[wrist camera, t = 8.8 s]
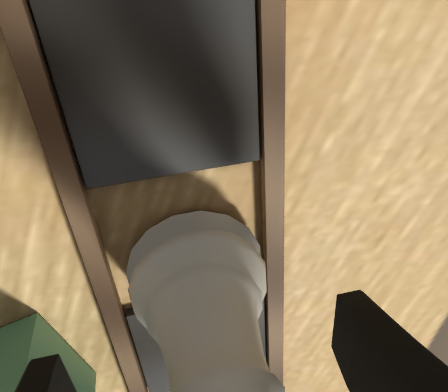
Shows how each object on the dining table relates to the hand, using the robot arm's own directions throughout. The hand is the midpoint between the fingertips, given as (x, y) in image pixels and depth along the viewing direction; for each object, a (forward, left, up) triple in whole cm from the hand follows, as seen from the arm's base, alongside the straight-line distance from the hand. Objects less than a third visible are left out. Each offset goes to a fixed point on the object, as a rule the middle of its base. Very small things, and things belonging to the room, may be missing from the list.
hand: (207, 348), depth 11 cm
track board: (-1, -2, -4) cm, 5 cm away
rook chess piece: (0, -1, -4) cm, 4 cm away
